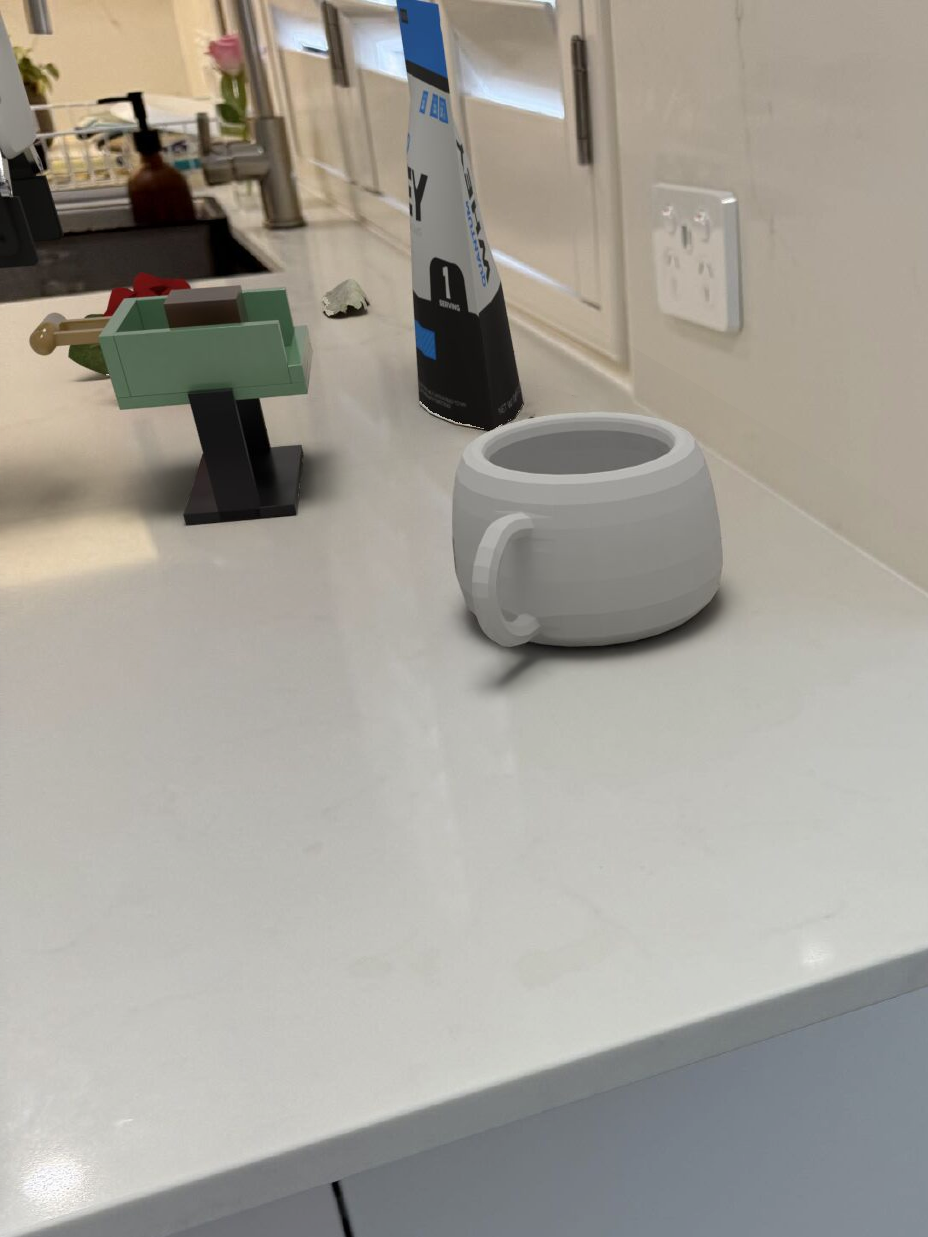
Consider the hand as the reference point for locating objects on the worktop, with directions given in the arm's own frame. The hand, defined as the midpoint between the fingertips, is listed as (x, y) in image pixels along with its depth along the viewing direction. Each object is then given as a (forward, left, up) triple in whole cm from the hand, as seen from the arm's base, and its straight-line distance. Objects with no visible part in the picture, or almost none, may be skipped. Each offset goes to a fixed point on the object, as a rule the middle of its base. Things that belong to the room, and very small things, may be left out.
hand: (28, 252), depth 94 cm
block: (+11, 0, -8) cm, 14 cm away
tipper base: (+11, 0, -17) cm, 20 cm away
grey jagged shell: (+18, +66, -17) cm, 70 cm away
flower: (-1, +42, -17) cm, 46 cm away
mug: (+33, -33, -17) cm, 50 cm away
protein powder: (+29, +21, -17) cm, 40 cm away
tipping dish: (+8, 0, -9) cm, 12 cm away
